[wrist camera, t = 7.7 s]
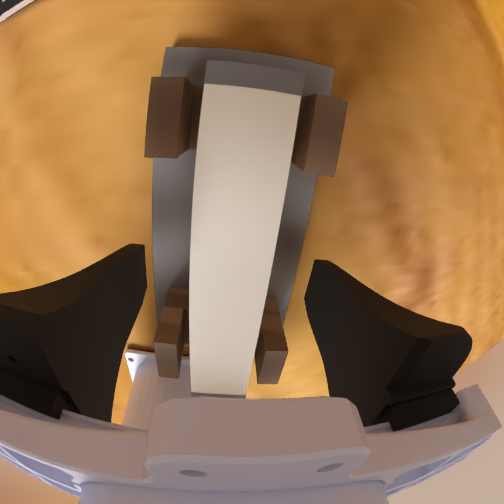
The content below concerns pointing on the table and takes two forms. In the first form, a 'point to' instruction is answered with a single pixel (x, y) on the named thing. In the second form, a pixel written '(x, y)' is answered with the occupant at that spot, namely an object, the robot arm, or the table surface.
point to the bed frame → (182, 183)
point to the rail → (236, 216)
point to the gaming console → (12, 7)
